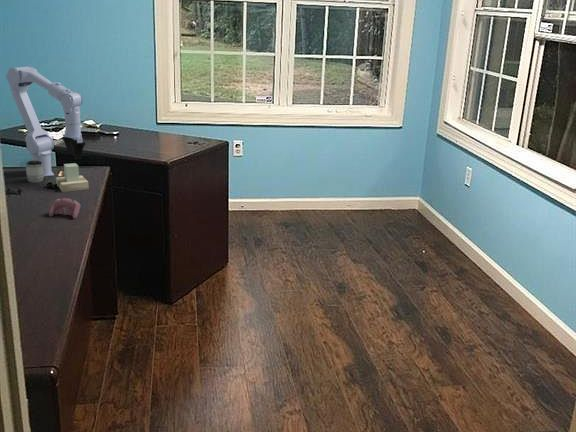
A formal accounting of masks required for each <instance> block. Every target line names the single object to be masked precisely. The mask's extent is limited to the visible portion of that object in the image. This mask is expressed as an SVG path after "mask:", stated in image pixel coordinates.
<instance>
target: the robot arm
mask: <svg viewBox="0 0 576 432" xmlns="http://www.w3.org/2000/svg"><path fill="white" fill-rule="evenodd" d="M6 81H7V83H8V84H9V87H10V92H11V95H12V97H13V99H14V101H15V105H16V107H17V109H18V111H19V114H20V116H21V119H22V121H23V123H24V126H25V128H26V130H27V134H26V136H25V138H24V141H25V143H26V149H27V151H28V152H29V155H31V156H30V157H31V159H30V161H40V162H42V163H43V175H44V176H43V177H53V176H55V174H54V172H53V171H52V160H51V157H52V156H51V153H52V150H54V148H55V147H54V146H55V141H54V139H53V138H52V137H51V136H50V133H49V132H48V131H47V130H45V129H44V128H42V126H41V123H40V121H39V118H38V117H37V114H36V111H35V109H34V106H33V104H32V101H31V99H30V97H29V94H28V93H27V92H28V90H29V88H30V87H31V85H33V84H36V85H37V86H39V87H40V88H43V89H44V90H46V91H47V94H48V95H49V96H51V97H52V98H54V99H56V100H57V101H59V102H60V105H61V106H62V109H63V112H64V125H65V126H64V127H65V130H64V134H62V138H61V139H62V140H63V143H64V146H65V147H66V151H67V154H68V155H69V156H70V155H73V156H74V159H75V160H80V159H81V160H82V155H83V150H84V149H85V145H86V141H84V139H83V137H82V135H83V134H82V129H81V127H82V126H81V108H80V107H81V106H82V104H83V96H82V95H81V93H79V92H78V90H77V91H71V89H70V88H67V87H66V86H64V85H62V83H61V82H57V81H54V82H52V81H51V80H49V79H48V78H46V77H45V76H43V75H42V74H41V73H40V72H38V69H36V68H34V67H33V66H31V65H27V66H18V67H14V66H13V67H12V66H11V67H9V69H8V70H7V72H6Z"/></svg>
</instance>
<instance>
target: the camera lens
mask: <svg viewBox="0 0 576 432" xmlns="http://www.w3.org/2000/svg"><path fill="white" fill-rule="evenodd" d="M25 171H26V172H25V173H26V179H27V181H28V182H29V183H35V184H36V183H41V182H43V181H44V177H45V176H44V175H43V163H42V162H40V161H32V160H29V161H28V162H26V163H25Z"/></svg>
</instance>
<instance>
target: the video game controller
mask: <svg viewBox="0 0 576 432" xmlns="http://www.w3.org/2000/svg"><path fill="white" fill-rule="evenodd" d="M65 208H67V209H65ZM81 208H82V207H81V204H80V202H78V201H77V200H74V199H72V198H65V197H63V198H57V199H55V200H54V201H53V202H52V204H51V206H50V209H49V210H48V216H49V217H53V216H54V215H55V213H57V214H59V215H65V213H66V214H67V215H68V216H72V219H77V218H78V216H79V213H80V209H81Z"/></svg>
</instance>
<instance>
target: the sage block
mask: <svg viewBox="0 0 576 432" xmlns="http://www.w3.org/2000/svg"><path fill="white" fill-rule="evenodd" d="M79 168H80V167H79V165H78V164H77V163H76V162H74V163H64V164H63V174H64V176H63V177H64V178H65V180H66V181H67V182H72V181H79V175H80V172H79V170H80V169H79Z"/></svg>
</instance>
